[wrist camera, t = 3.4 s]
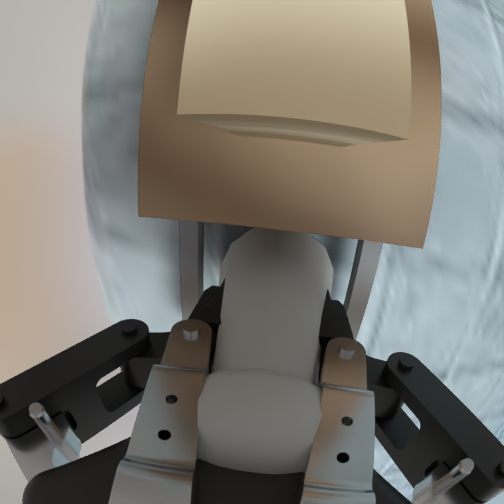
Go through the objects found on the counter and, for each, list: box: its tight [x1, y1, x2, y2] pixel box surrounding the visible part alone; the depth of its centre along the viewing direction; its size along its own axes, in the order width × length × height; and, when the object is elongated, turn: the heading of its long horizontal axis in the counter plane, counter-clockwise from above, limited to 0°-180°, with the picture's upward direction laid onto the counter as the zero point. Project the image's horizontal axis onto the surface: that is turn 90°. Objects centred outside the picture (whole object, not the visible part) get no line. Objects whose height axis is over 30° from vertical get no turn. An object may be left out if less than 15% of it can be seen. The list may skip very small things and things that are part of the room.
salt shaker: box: [197, 227, 334, 474], centre depth 10 cm, size 6×6×13 cm
